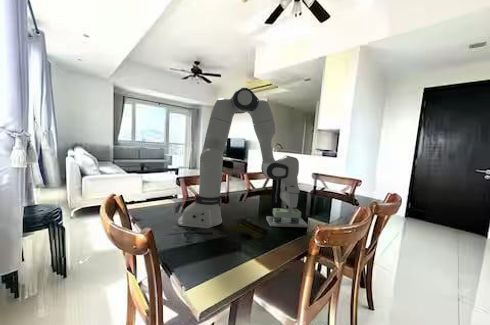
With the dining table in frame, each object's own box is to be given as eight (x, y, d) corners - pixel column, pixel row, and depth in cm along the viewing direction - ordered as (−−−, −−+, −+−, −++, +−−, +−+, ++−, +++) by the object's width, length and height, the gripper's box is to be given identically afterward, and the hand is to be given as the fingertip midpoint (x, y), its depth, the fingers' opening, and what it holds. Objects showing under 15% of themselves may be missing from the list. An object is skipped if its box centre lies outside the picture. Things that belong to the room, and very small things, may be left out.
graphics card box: (280, 214, 135) (284, 170, 133) (269, 213, 137) (272, 169, 134) (282, 206, 152) (285, 167, 149) (271, 205, 153) (274, 166, 151)
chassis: (270, 226, 115) (271, 211, 114) (266, 218, 126) (267, 205, 125) (307, 227, 117) (308, 212, 116) (300, 219, 128) (301, 206, 127)
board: (275, 217, 117) (275, 211, 117) (272, 213, 123) (273, 208, 123) (300, 218, 119) (301, 212, 119) (297, 214, 125) (297, 209, 125)
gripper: (278, 182, 130) (276, 205, 131) (288, 189, 109) (286, 217, 111) (289, 182, 130) (287, 205, 132) (301, 190, 110) (298, 217, 111)
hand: (286, 210), depth 121 cm, fingers open, 8 cm apart
